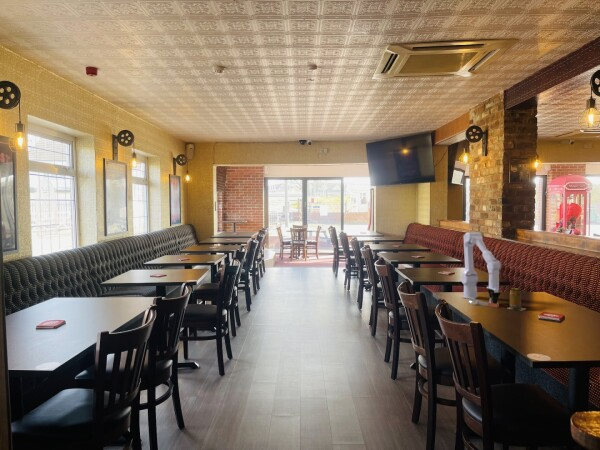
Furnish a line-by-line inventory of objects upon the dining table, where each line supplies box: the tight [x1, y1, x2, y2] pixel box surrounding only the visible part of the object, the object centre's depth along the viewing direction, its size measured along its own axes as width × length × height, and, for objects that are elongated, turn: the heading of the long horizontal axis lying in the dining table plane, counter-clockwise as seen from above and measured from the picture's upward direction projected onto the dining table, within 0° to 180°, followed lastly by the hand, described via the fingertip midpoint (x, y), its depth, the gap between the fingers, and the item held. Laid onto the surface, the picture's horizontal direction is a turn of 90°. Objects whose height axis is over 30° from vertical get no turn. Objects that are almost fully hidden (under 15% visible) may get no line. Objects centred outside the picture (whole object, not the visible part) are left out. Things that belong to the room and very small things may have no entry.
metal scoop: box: [467, 297, 500, 308], centre depth 268 cm, size 18×7×4 cm, turn 48°
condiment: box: [508, 287, 526, 311], centre depth 258 cm, size 7×8×12 cm
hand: (493, 301), depth 269 cm, fingers open, 7 cm apart
